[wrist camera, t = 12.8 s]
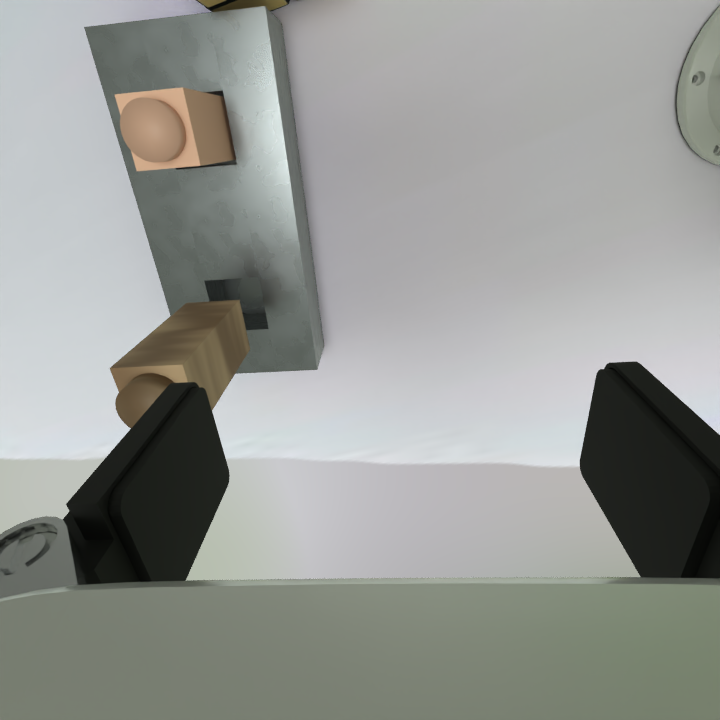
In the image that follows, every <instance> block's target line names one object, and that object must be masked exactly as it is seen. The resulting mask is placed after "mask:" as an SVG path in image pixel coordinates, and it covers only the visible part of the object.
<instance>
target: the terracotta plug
mask: <svg viewBox="0 0 720 720" xmlns="http://www.w3.org/2000/svg"><path fill="white" fill-rule="evenodd" d="M114 95H115V98H116V101H117V105H118V108H119V112H120V115H121V117H120V129H121V133H122V136H123V139H124V141H125V143H126V144H127V146H128V147H129V149H130V150H131V153H132V156H133V160H134V163H135V167H136V170H137V171H147V170H158V169H169V168H181V167H192V166H202V165H208V164H214V163H219V162H225V161H231V160H236V156H235V151H234V145H233V140H232V135H231V130H230V125H229V119H228V114H227V109H226V104H225V99H224V97H222V96H218V95H213V94H209V93H205V92H201V91H196V90H192V89H188V88H183V87H181V88H172V89H162V90H152V91H143V92H133V93H123V94H114Z"/></svg>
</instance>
